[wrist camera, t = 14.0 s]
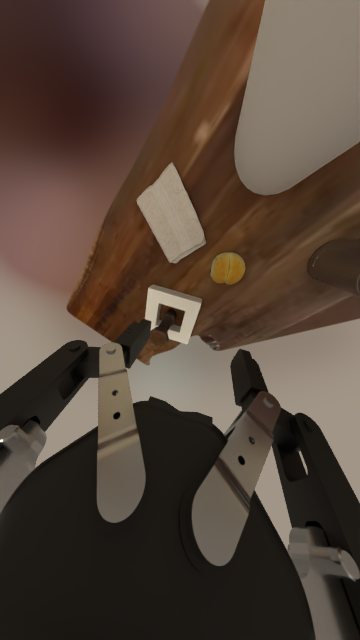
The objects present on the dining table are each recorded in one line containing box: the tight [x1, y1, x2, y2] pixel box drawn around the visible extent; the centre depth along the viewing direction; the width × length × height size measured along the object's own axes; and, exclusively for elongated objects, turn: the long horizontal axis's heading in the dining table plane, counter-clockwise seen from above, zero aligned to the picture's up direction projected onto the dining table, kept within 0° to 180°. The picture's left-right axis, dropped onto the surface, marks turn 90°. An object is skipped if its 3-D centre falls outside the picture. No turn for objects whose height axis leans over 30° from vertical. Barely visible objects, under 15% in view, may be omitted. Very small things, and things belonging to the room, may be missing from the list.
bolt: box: [149, 310, 176, 346], centre depth 43 cm, size 6×5×15 cm
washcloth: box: [137, 162, 206, 263], centre depth 35 cm, size 12×18×3 cm, turn 32°
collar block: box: [145, 284, 202, 344], centre depth 48 cm, size 17×17×4 cm
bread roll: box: [210, 252, 245, 285], centre depth 37 cm, size 8×9×4 cm
